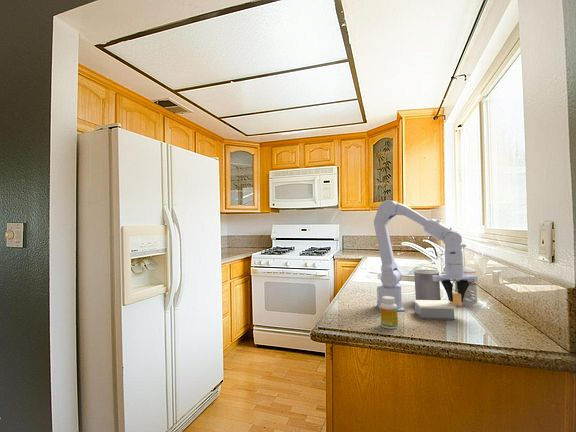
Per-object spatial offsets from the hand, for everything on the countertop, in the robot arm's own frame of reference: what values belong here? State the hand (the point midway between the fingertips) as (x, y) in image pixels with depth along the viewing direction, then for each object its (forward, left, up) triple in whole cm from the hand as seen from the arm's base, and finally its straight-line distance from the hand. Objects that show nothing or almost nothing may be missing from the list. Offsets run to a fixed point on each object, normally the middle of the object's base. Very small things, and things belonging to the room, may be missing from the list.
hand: (455, 301), depth 104 cm
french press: (+10, +19, -6) cm, 22 cm away
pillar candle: (-5, +17, -6) cm, 19 cm away
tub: (-8, 0, -6) cm, 9 cm away
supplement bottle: (-26, -12, -6) cm, 29 cm away
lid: (-6, 0, -2) cm, 6 cm away
